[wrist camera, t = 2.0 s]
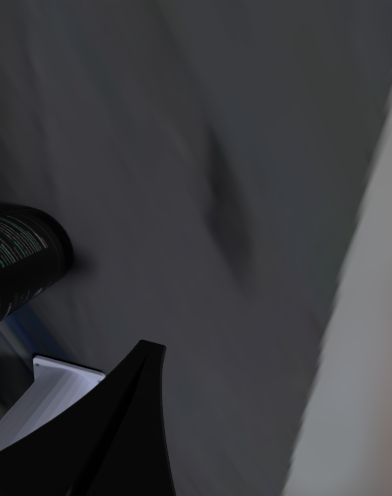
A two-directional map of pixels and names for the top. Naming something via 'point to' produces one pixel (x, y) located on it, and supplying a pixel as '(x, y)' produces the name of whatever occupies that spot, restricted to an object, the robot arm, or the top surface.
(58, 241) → the supplement bottle
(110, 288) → the top surface
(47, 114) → the top surface
